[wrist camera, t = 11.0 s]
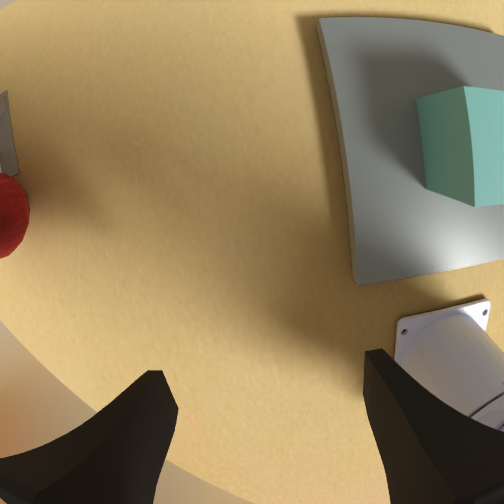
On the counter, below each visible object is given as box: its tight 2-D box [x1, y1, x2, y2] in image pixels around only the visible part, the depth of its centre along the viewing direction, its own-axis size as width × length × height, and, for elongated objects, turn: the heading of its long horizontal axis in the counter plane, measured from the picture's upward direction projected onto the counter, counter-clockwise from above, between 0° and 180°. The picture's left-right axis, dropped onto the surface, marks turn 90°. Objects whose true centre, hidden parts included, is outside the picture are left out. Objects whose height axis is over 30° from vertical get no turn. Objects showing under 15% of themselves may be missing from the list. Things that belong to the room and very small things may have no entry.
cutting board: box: [316, 17, 504, 286], centre depth 15 cm, size 15×14×2 cm
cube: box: [416, 86, 504, 207], centre depth 12 cm, size 5×5×5 cm
